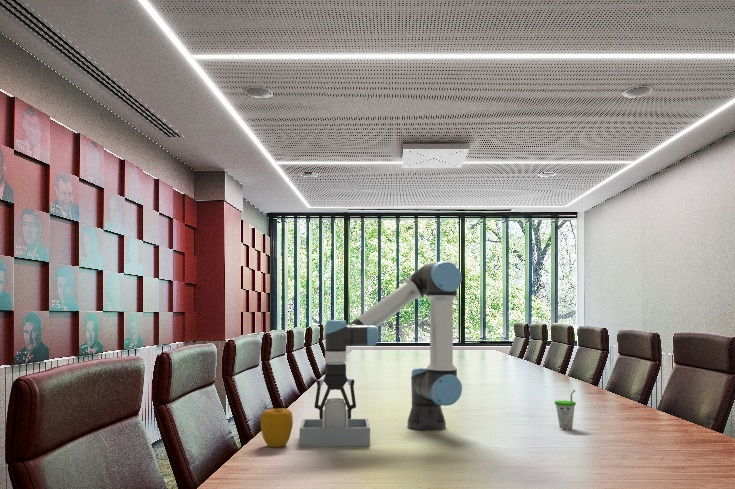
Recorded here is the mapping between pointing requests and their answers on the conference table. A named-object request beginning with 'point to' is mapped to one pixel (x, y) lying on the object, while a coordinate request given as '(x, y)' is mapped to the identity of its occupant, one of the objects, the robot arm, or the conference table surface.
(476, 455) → the conference table surface
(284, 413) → the apple
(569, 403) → the cup
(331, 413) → the can
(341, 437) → the walled box
